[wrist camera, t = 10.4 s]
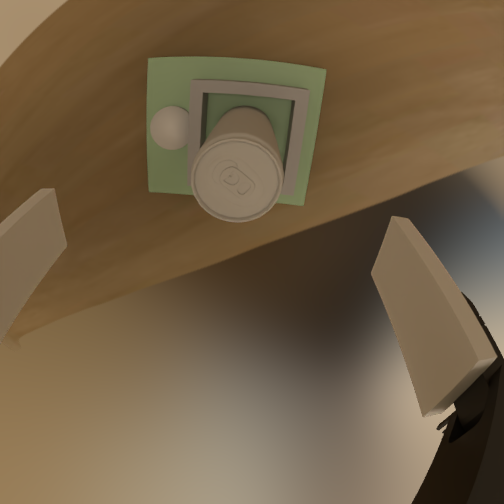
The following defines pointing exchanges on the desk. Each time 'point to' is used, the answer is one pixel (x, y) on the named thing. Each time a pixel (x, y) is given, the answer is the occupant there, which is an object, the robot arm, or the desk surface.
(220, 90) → the green tray with frame
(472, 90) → the desk surface
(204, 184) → the beverage can
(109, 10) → the desk surface
